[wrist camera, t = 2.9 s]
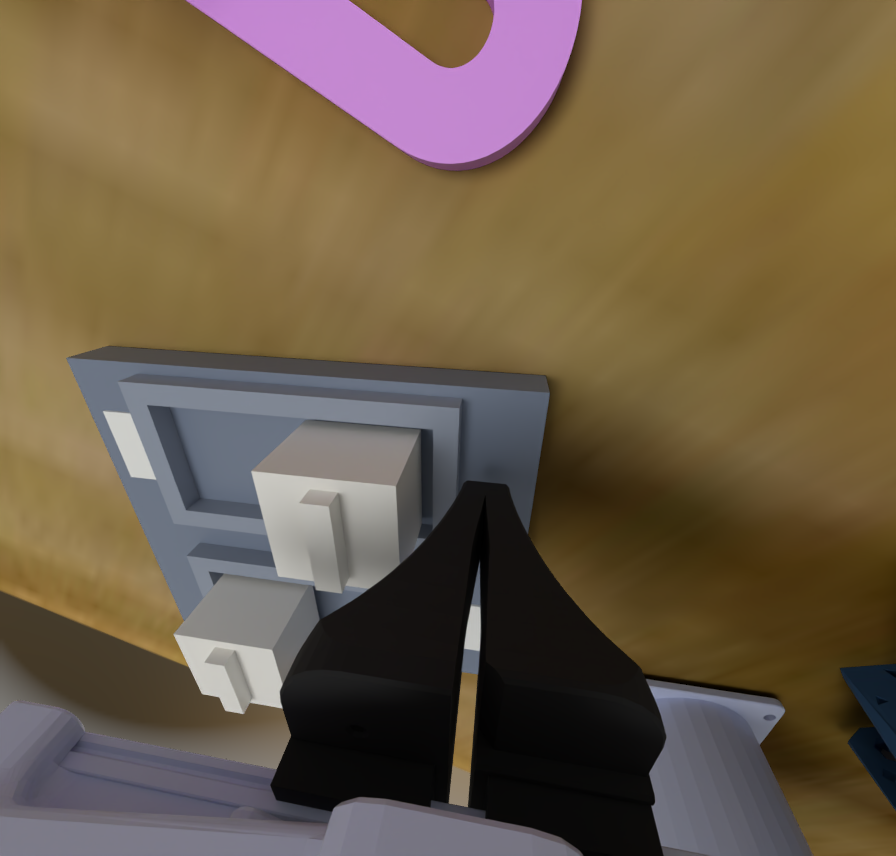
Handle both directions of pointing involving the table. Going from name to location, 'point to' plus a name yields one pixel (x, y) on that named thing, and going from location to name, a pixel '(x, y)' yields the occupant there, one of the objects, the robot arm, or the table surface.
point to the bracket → (417, 72)
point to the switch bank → (269, 423)
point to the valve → (876, 723)
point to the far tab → (247, 638)
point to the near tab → (341, 502)
